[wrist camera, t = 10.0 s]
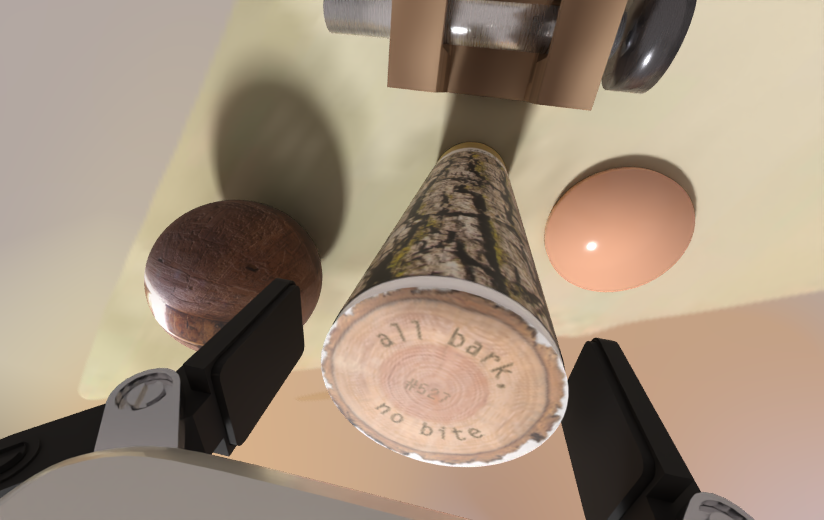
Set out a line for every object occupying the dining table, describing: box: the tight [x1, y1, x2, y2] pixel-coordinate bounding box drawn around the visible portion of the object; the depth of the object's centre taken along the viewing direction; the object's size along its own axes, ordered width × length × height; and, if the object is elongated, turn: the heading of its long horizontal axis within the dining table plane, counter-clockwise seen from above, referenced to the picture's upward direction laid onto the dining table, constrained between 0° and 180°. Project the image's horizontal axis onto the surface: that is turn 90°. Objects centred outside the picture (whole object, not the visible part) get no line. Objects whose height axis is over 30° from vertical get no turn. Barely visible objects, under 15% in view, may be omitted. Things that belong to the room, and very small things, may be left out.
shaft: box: [323, 0, 697, 94], centre depth 20 cm, size 20×6×6 cm, turn 84°
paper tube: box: [321, 142, 568, 467], centre depth 20 cm, size 7×7×25 cm
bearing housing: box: [387, 0, 628, 111], centre depth 21 cm, size 14×8×9 cm, turn 84°
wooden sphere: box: [144, 200, 322, 351], centre depth 32 cm, size 15×15×15 cm
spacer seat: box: [544, 167, 695, 292], centre depth 30 cm, size 12×12×1 cm
